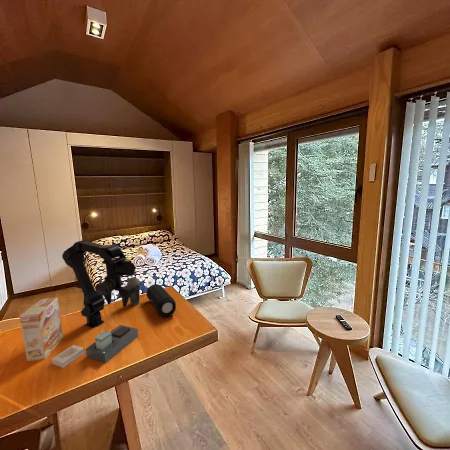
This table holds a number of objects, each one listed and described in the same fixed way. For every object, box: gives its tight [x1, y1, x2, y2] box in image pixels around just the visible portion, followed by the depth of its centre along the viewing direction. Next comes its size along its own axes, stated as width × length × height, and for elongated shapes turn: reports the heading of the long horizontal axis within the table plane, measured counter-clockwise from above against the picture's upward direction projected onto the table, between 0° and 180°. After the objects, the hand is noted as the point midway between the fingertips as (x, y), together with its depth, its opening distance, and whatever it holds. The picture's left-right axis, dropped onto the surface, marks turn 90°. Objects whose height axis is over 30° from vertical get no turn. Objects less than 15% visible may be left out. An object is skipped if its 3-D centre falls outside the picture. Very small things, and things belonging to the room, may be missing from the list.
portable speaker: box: [146, 283, 177, 318], centre depth 137 cm, size 26×10×10 cm, turn 31°
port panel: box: [85, 324, 139, 364], centre depth 105 cm, size 10×18×5 cm, turn 158°
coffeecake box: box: [19, 297, 64, 362], centre depth 103 cm, size 15×7×20 cm, turn 9°
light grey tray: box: [51, 344, 86, 369], centre depth 98 cm, size 6×9×2 cm, turn 158°
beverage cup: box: [126, 276, 141, 306], centre depth 142 cm, size 7×7×20 cm
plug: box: [94, 330, 112, 351], centre depth 100 cm, size 3×5×8 cm
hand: (116, 305), depth 115 cm, fingers open, 9 cm apart
